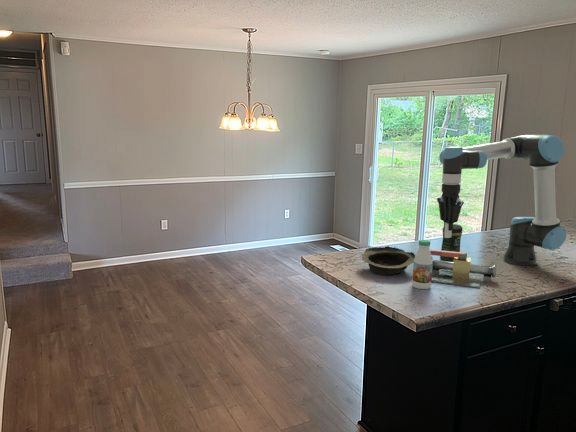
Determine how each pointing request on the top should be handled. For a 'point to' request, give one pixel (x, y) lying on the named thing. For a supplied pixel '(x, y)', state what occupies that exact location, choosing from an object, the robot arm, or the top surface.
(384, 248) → the stone bowl
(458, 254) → the lever
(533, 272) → the top surface
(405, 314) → the top surface
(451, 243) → the coffee jar
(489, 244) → the top surface
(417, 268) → the milk bottle
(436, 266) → the pipe run
